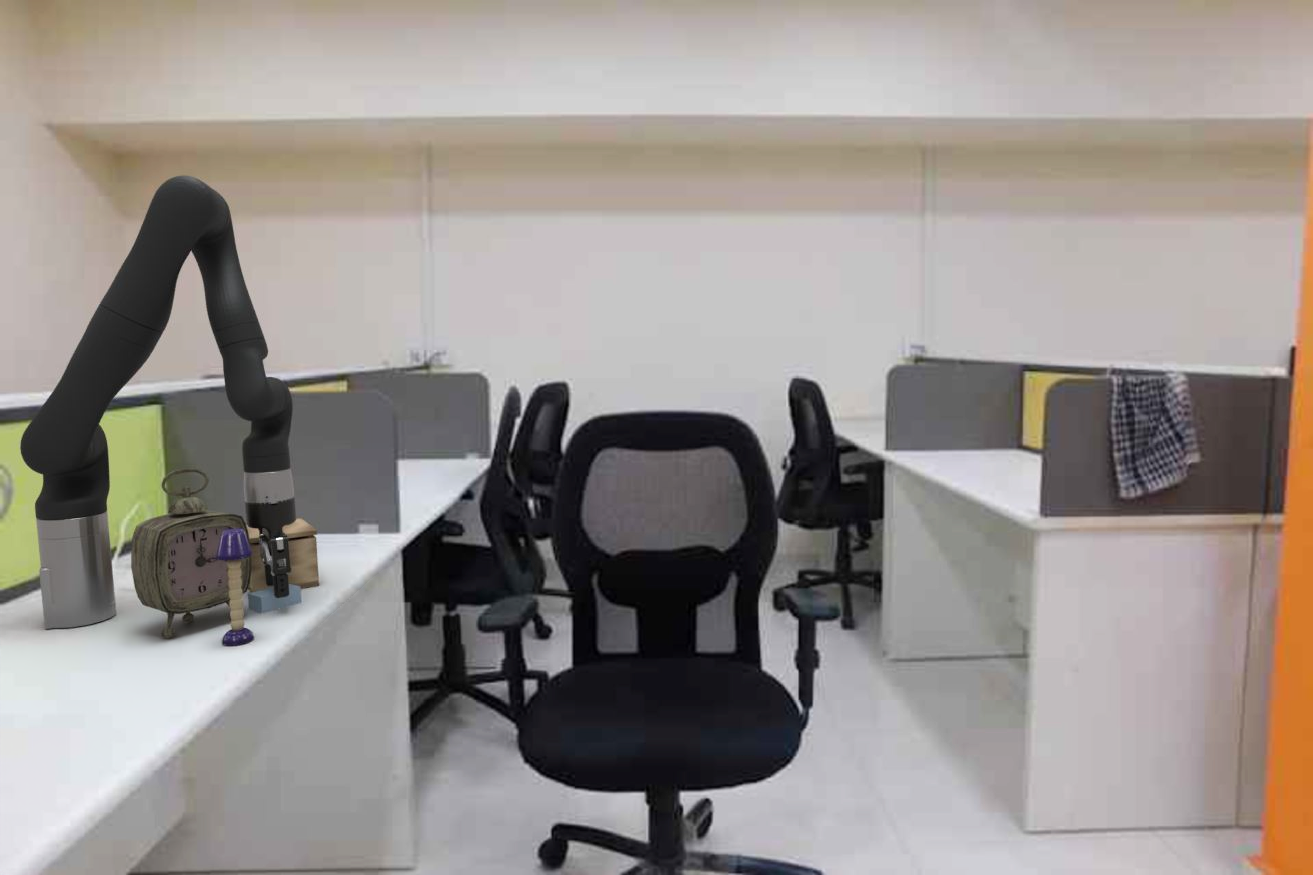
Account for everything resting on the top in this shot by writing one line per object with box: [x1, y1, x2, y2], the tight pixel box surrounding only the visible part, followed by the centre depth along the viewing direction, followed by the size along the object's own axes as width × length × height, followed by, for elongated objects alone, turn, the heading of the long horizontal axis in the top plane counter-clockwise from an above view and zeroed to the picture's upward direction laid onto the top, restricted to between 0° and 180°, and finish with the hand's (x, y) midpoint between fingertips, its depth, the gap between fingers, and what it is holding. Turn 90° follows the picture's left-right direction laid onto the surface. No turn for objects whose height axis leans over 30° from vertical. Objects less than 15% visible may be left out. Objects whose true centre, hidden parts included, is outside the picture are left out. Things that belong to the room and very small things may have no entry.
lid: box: [246, 518, 318, 543], centre depth 148 cm, size 11×16×1 cm
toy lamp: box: [216, 529, 255, 646], centre depth 117 cm, size 5×5×17 cm
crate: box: [248, 535, 320, 593], centre depth 149 cm, size 11×16×9 cm
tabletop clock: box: [130, 467, 251, 639], centre depth 124 cm, size 14×9×25 cm, turn 147°
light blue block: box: [247, 584, 302, 614], centre depth 134 cm, size 7×4×3 cm, turn 147°
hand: (277, 590), depth 135 cm, fingers open, 8 cm apart
